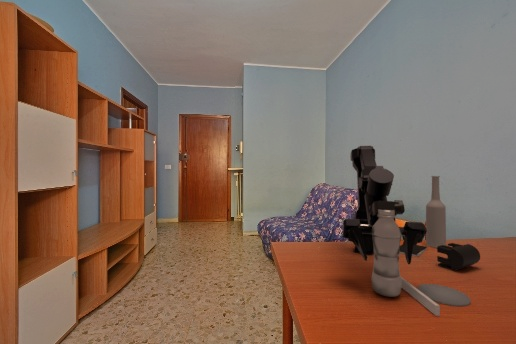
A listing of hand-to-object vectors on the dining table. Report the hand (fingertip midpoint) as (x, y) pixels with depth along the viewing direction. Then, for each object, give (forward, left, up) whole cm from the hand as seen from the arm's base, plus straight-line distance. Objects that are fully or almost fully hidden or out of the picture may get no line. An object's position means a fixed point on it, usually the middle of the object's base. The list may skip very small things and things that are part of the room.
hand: (387, 261), depth 57 cm
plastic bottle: (0, +1, -8) cm, 8 cm away
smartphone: (+3, +45, -9) cm, 46 cm away
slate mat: (+11, +8, -8) cm, 16 cm away
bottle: (+11, +57, -8) cm, 59 cm away
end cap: (+16, +33, -8) cm, 37 cm away
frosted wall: (+5, +4, -8) cm, 10 cm away
